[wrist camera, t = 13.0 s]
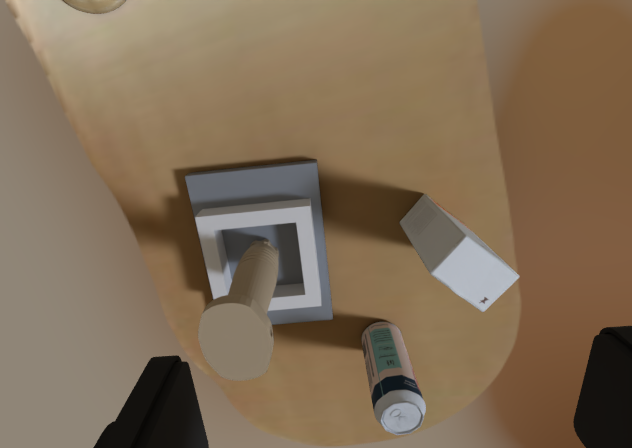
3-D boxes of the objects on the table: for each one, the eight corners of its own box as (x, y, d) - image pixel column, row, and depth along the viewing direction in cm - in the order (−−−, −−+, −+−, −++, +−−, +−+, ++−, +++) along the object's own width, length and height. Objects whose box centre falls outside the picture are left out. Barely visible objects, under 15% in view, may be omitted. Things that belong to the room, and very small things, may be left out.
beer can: (379, 358, 47) (399, 446, 36) (352, 336, 46) (364, 419, 34) (408, 335, 46) (439, 418, 34) (382, 311, 44) (405, 389, 33)
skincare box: (465, 223, 40) (523, 277, 29) (438, 252, 42) (483, 315, 30) (423, 190, 39) (466, 234, 28) (396, 221, 40) (427, 275, 29)
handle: (247, 281, 41) (212, 384, 27) (234, 226, 39) (188, 308, 25) (291, 275, 41) (278, 375, 27) (280, 219, 39) (260, 298, 25)
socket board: (189, 172, 38) (175, 182, 35) (316, 159, 38) (316, 168, 34) (222, 321, 45) (214, 343, 41) (332, 311, 44) (333, 333, 41)
